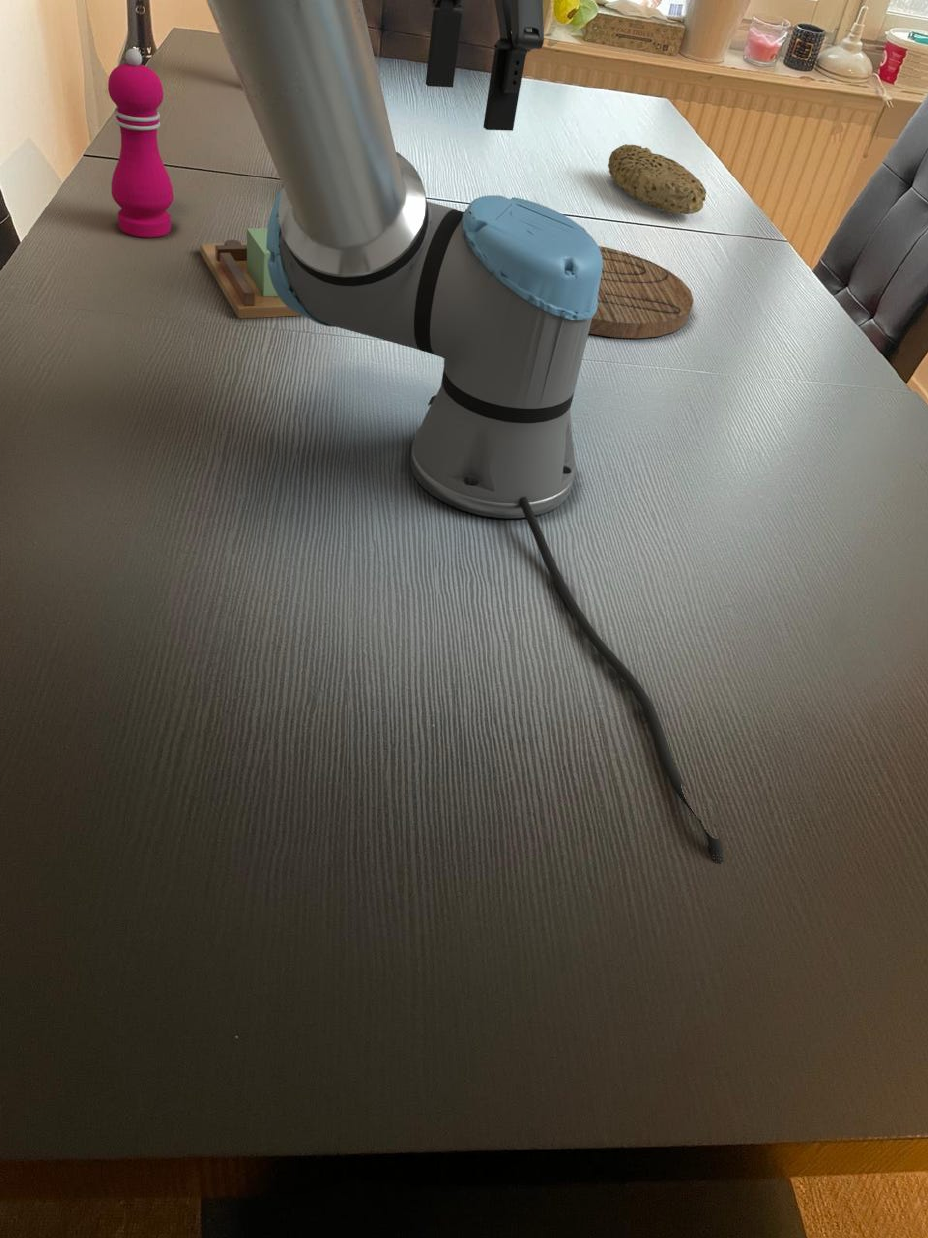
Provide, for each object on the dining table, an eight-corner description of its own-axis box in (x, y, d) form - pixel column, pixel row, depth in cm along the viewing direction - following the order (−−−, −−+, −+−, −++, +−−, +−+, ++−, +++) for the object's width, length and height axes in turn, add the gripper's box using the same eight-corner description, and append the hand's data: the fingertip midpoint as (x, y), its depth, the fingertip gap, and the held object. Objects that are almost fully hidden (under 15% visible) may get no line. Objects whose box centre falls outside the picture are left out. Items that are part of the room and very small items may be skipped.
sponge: (594, 184, 167) (629, 199, 150) (610, 135, 164) (649, 145, 147) (662, 207, 171) (705, 225, 154) (680, 160, 167) (725, 172, 150)
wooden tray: (358, 312, 114) (360, 290, 112) (238, 318, 108) (238, 295, 107) (311, 250, 126) (311, 229, 124) (200, 253, 120) (199, 230, 118)
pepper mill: (160, 244, 120) (149, 61, 107) (103, 231, 121) (86, 47, 108) (184, 225, 126) (177, 49, 113) (130, 213, 126) (117, 36, 113)
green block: (322, 294, 113) (325, 251, 110) (263, 296, 111) (263, 252, 107) (304, 269, 118) (306, 227, 115) (246, 271, 115) (246, 227, 112)
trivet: (710, 347, 120) (715, 333, 119) (510, 325, 117) (512, 310, 115) (665, 267, 139) (669, 253, 138) (491, 245, 135) (493, 232, 134)
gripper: (406, -199, 87) (384, 67, 101) (535, -164, 71) (488, 148, 85) (481, -186, 90) (450, 71, 104) (622, -149, 74) (563, 150, 88)
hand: (467, 106), depth 94 cm, fingers open, 13 cm apart
